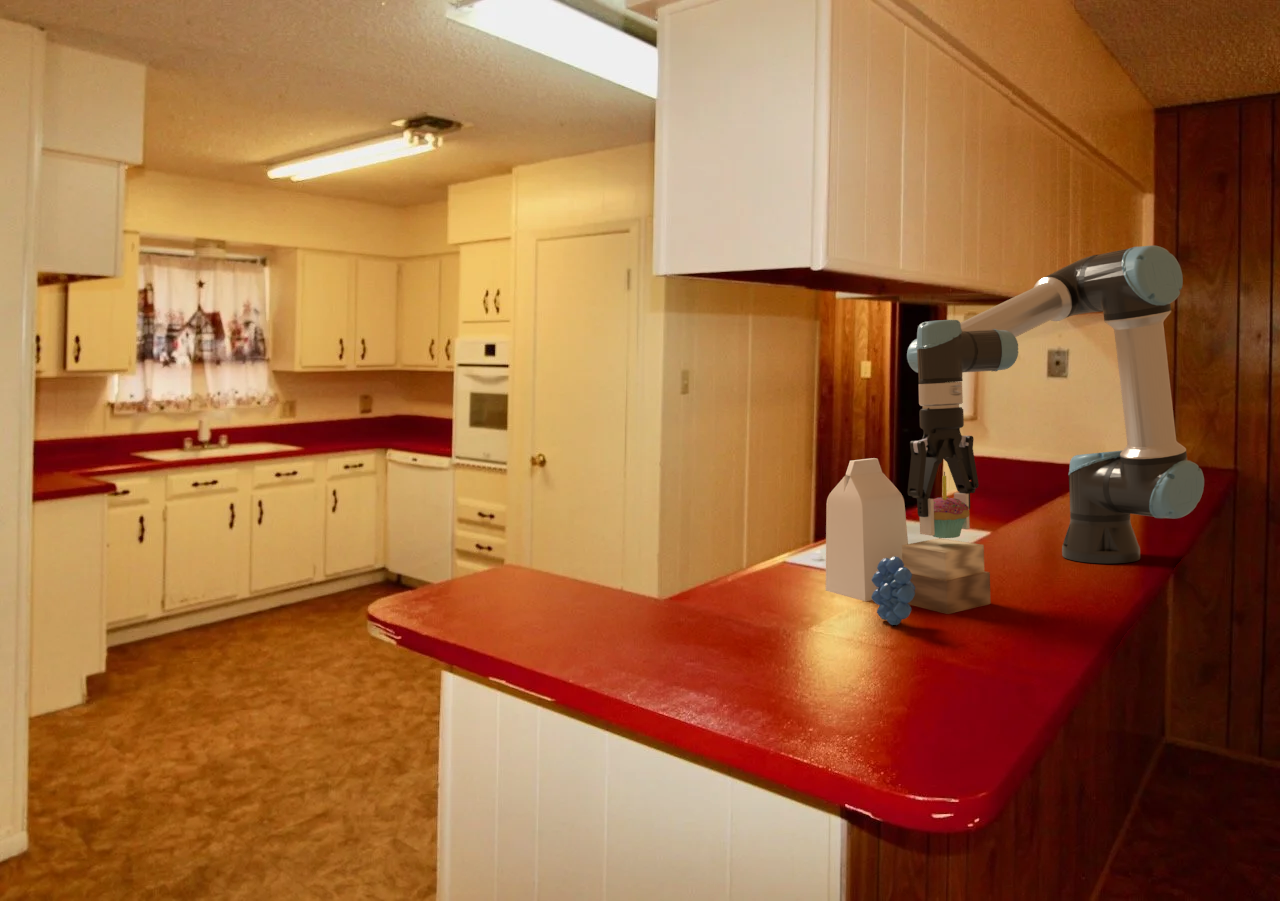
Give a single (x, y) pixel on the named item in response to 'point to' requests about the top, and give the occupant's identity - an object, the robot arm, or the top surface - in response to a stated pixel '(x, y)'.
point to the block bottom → (951, 593)
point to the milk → (862, 528)
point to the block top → (943, 558)
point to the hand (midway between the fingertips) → (945, 531)
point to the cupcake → (949, 515)
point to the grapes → (893, 590)
